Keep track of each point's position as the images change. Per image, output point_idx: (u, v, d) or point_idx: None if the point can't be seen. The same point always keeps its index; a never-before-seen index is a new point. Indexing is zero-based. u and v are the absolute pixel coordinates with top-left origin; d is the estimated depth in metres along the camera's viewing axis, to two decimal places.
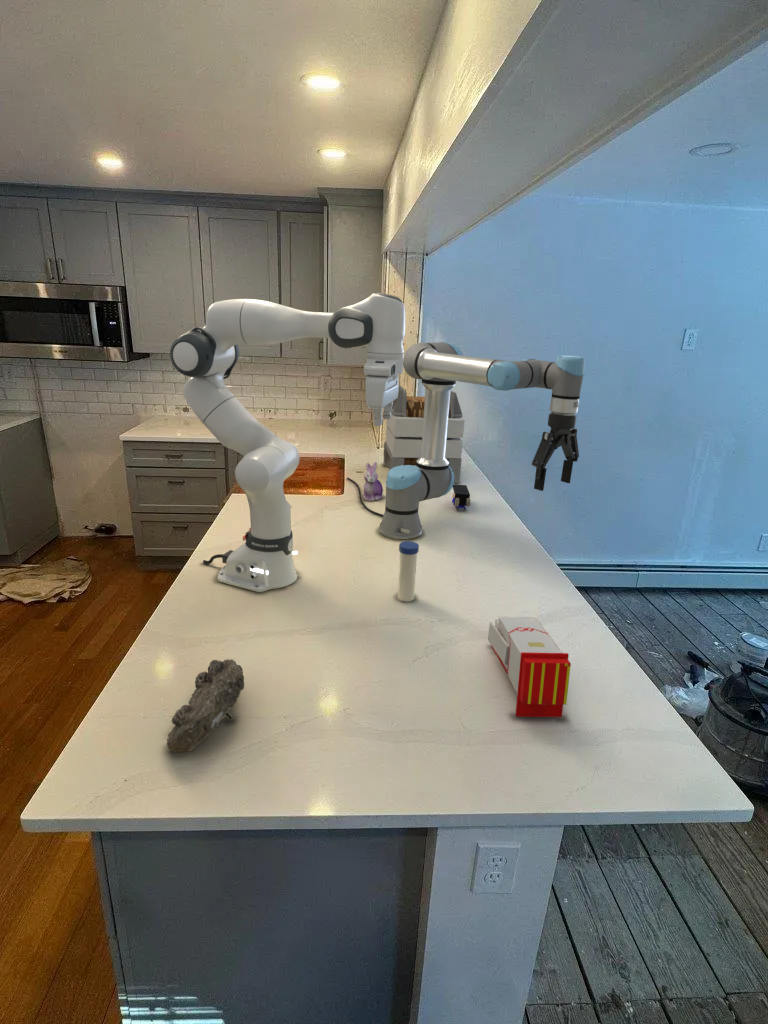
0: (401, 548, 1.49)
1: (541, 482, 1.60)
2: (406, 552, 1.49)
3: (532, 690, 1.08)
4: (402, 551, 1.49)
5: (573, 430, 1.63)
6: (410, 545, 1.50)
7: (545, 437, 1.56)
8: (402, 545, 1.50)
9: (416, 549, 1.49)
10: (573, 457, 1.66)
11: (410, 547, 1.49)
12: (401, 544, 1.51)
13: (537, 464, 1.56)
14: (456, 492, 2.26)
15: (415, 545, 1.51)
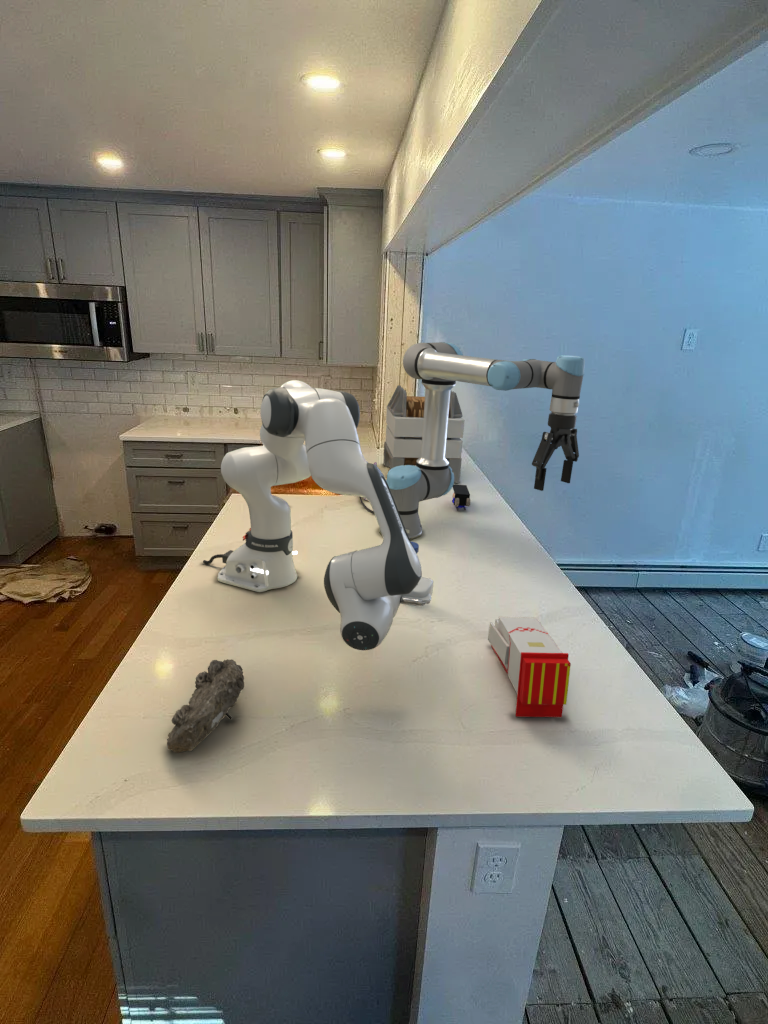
0: None
1: (541, 482, 1.60)
2: None
3: (532, 690, 1.08)
4: None
5: (573, 430, 1.63)
6: None
7: (545, 437, 1.56)
8: None
9: (416, 549, 1.49)
10: (573, 457, 1.66)
11: None
12: None
13: (537, 464, 1.56)
14: (456, 492, 2.26)
15: (415, 545, 1.51)
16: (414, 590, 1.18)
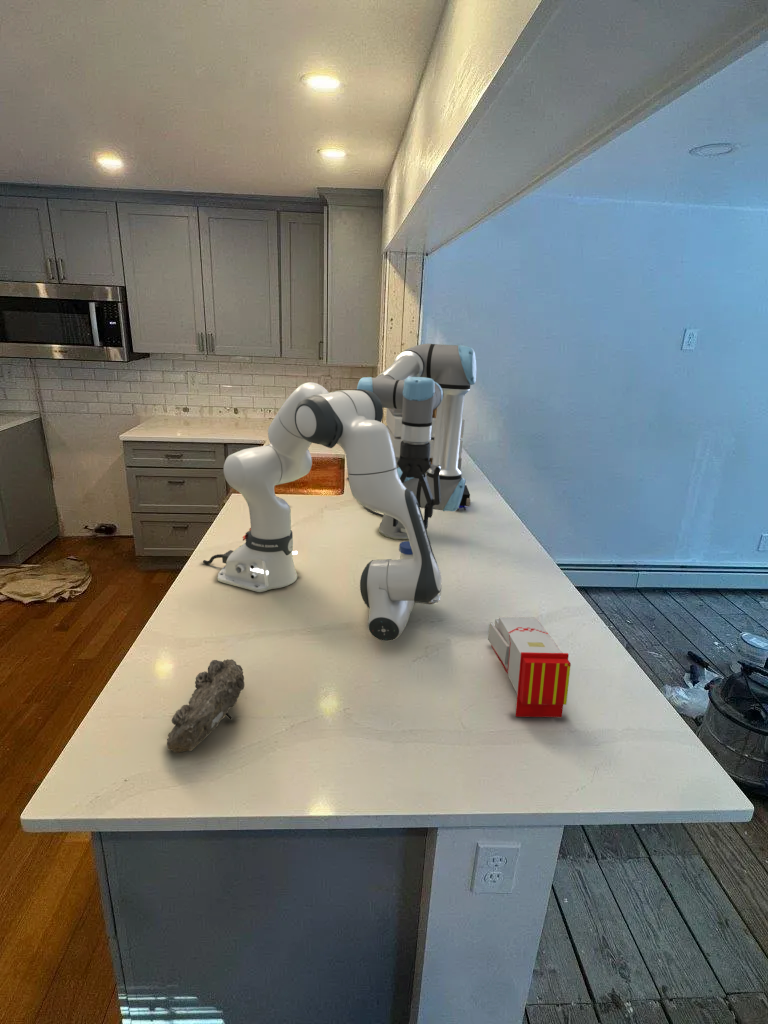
0: (401, 548, 1.49)
1: (427, 519, 1.48)
2: (406, 552, 1.49)
3: (532, 690, 1.08)
4: (402, 551, 1.49)
5: None
6: (410, 545, 1.50)
7: (439, 472, 1.42)
8: (402, 545, 1.50)
9: None
10: None
11: (410, 547, 1.49)
12: (401, 544, 1.51)
13: (440, 500, 1.45)
14: None
15: None
16: None
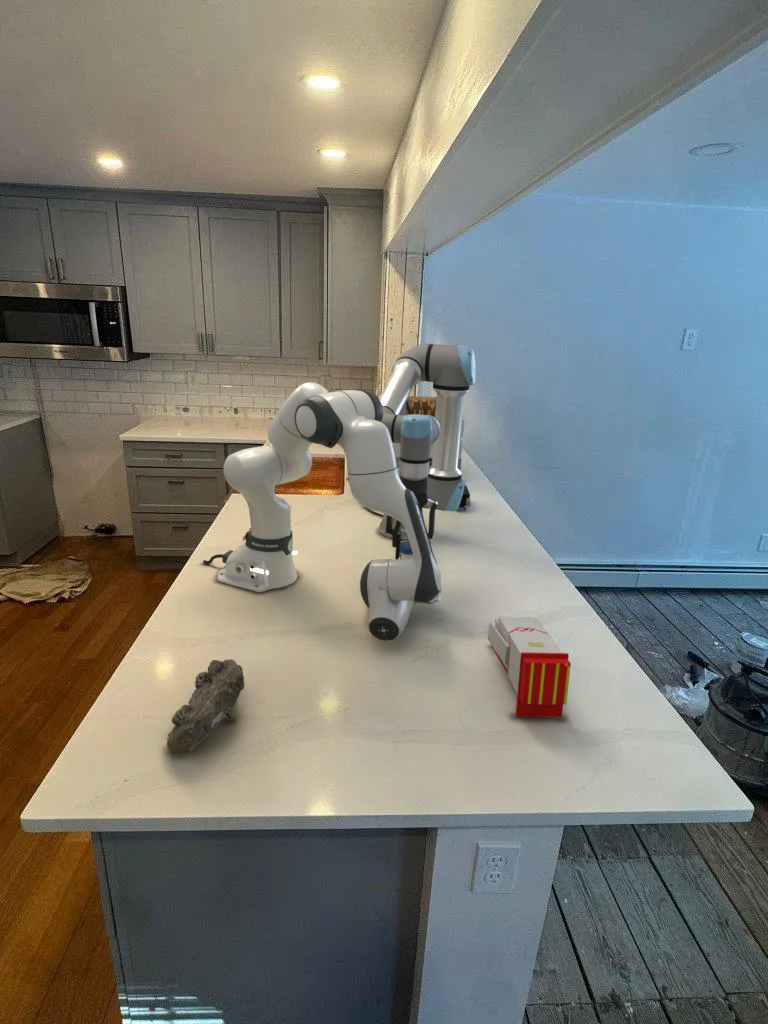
0: (401, 548, 1.49)
1: None
2: (406, 552, 1.49)
3: (532, 690, 1.08)
4: (402, 551, 1.49)
5: None
6: (410, 545, 1.50)
7: (435, 508, 1.46)
8: (402, 545, 1.50)
9: None
10: None
11: (410, 547, 1.49)
12: (401, 544, 1.51)
13: (433, 534, 1.49)
14: None
15: None
16: None
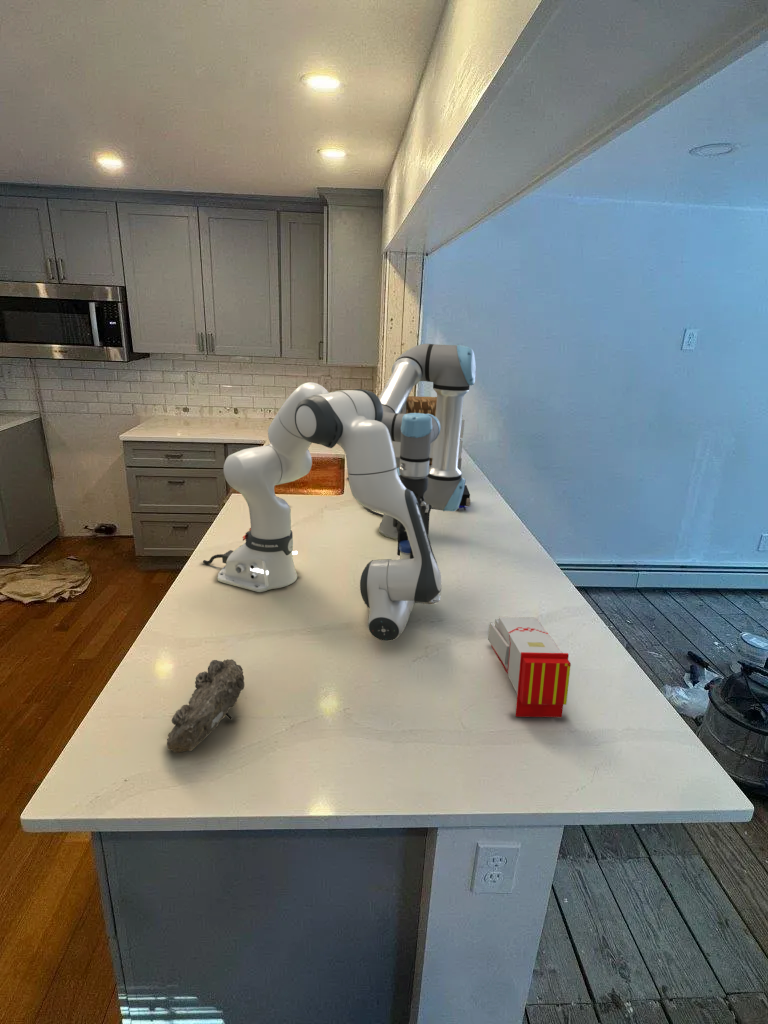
0: None
1: None
2: None
3: (532, 690, 1.08)
4: None
5: None
6: (408, 543, 1.51)
7: None
8: None
9: None
10: None
11: None
12: None
13: None
14: None
15: (404, 541, 1.52)
16: None
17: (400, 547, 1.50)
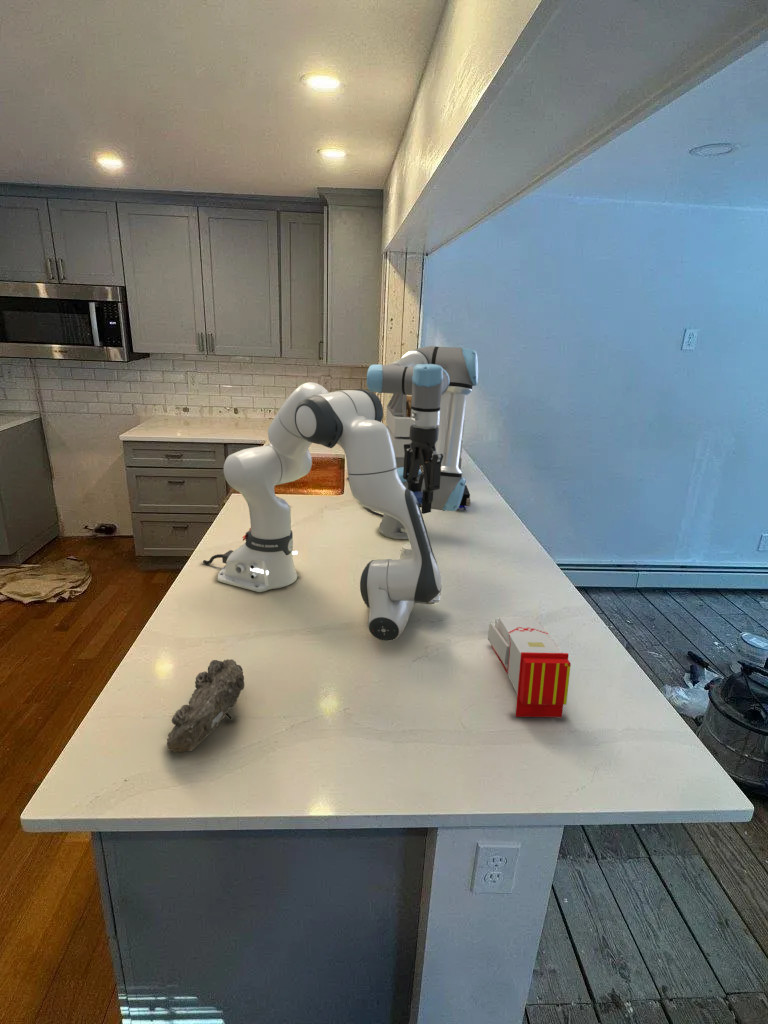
0: None
1: None
2: None
3: (532, 690, 1.08)
4: None
5: None
6: (419, 493, 1.54)
7: None
8: None
9: None
10: (426, 486, 1.49)
11: (422, 492, 1.55)
12: None
13: None
14: None
15: (415, 492, 1.55)
16: None
17: None
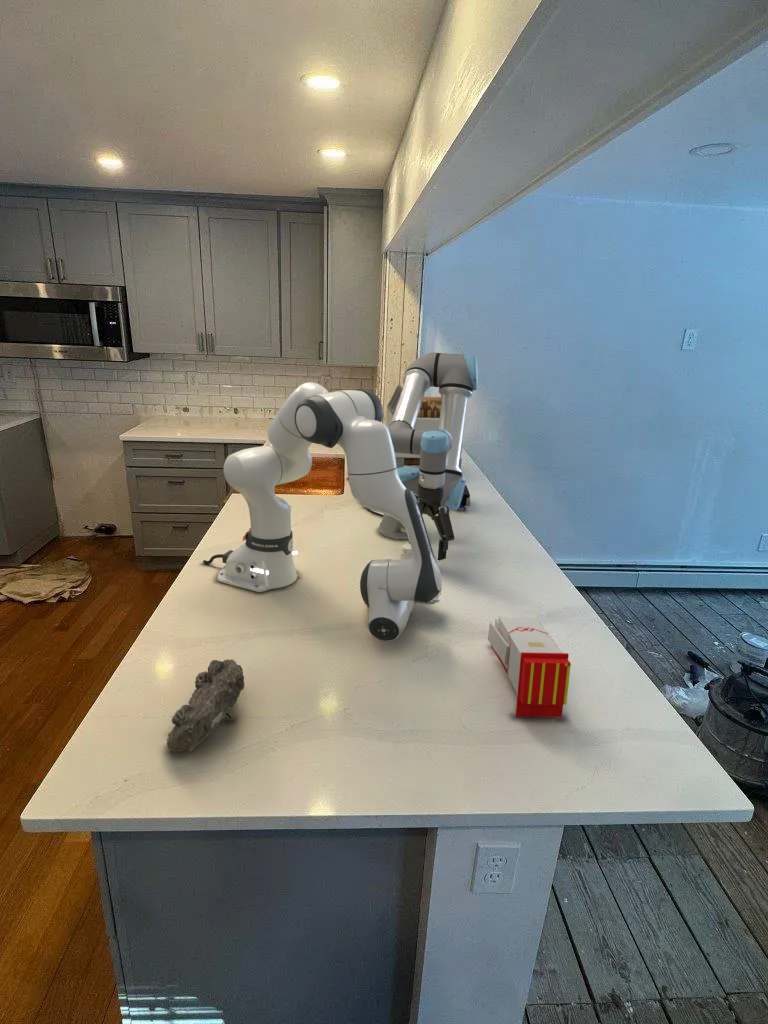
0: None
1: None
2: None
3: (532, 690, 1.08)
4: None
5: None
6: None
7: None
8: None
9: None
10: (441, 536, 1.64)
11: None
12: None
13: None
14: None
15: None
16: None
17: None
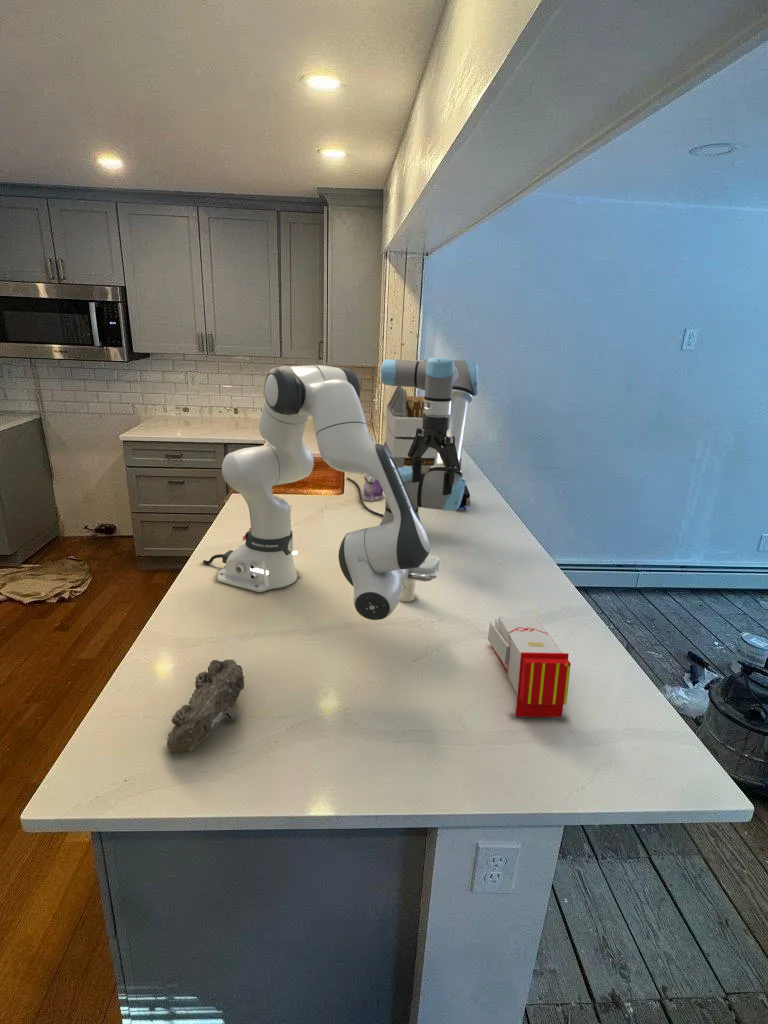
0: None
1: None
2: None
3: (532, 690, 1.08)
4: None
5: None
6: None
7: None
8: None
9: None
10: (446, 468, 1.56)
11: None
12: None
13: None
14: None
15: None
16: (421, 566, 1.26)
17: None
